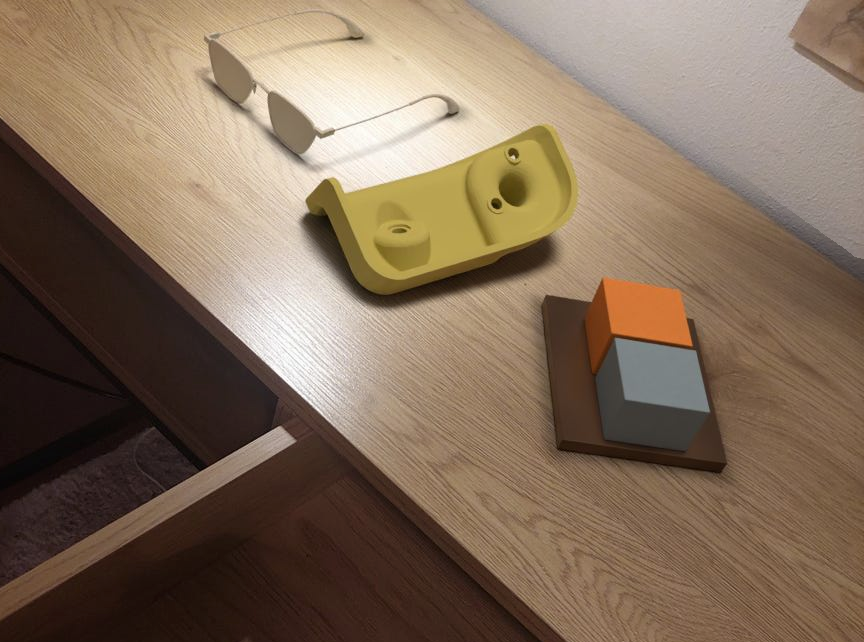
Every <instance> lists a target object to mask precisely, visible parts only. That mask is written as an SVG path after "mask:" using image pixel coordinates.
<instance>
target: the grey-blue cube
mask: <svg viewBox="0 0 864 642" xmlns="http://www.w3.org/2000/svg"><path fill="white" fill-rule="evenodd" d="M595 381H596V388H597V394H598V401H599V408H600V415H601V422H602V429H603V435H604V439H605V440H610V441H617V442H624V443H631V444H638V445H645V446H651V447H658V448H665V449H672V450H679V451H686V450H687V449H688V447H689V445H690V444H691V442H692V441H693V439H694V437H695V436H696V434H697V433H698V431H699V429H700V428H701V426H702V425H703V423H704V421H705V420H706V418H707V416H708V415H709V413H710V409H709V405H708V401H707V396H706V392H705V388H704V383H703V379H702V375H701V370H700V366H699V362H698V357H697V353H696V351H695V350H688V349H682V348H676V347H670V346H664V345H657V344H651V343H645V342H639V341H632V340H626V339H620V338H615V339H614V341H613V343H612V345H611V347H610V349H609V351H608V353H607V355H606V357H605V359H604V361H603V363H602V366H601V368H600V370H599V372H598V374H597V376H596V378H595Z"/></svg>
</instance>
